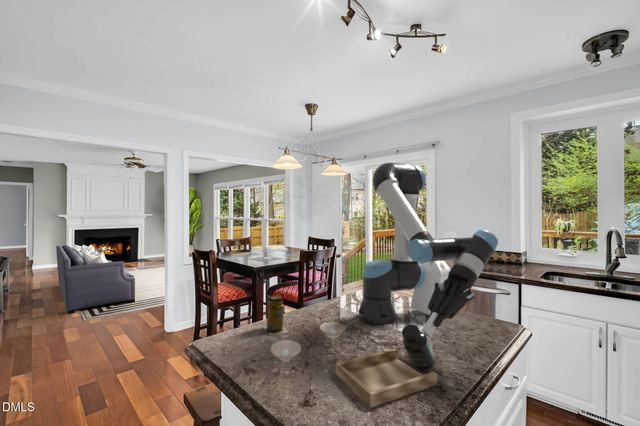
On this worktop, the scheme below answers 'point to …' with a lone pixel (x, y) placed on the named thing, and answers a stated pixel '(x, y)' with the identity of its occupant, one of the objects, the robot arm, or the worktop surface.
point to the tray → (382, 377)
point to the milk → (429, 284)
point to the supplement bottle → (418, 348)
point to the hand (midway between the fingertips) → (425, 333)
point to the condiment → (275, 316)
